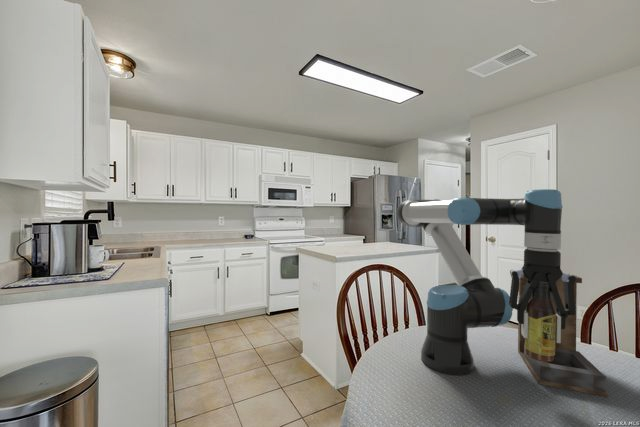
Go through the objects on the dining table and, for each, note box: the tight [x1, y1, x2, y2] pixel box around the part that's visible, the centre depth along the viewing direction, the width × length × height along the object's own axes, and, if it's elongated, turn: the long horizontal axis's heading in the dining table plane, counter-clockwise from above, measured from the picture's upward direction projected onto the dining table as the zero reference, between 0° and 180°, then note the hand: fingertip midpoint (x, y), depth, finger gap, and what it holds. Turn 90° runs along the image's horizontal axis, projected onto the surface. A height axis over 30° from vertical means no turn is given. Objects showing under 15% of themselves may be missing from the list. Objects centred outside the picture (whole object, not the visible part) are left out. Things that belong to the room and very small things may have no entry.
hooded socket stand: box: [517, 274, 609, 398], centre depth 86 cm, size 15×20×28 cm
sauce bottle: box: [525, 282, 556, 362], centre depth 75 cm, size 7×6×20 cm
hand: (540, 338), depth 75 cm, fingers closed on sauce bottle, 6 cm apart
